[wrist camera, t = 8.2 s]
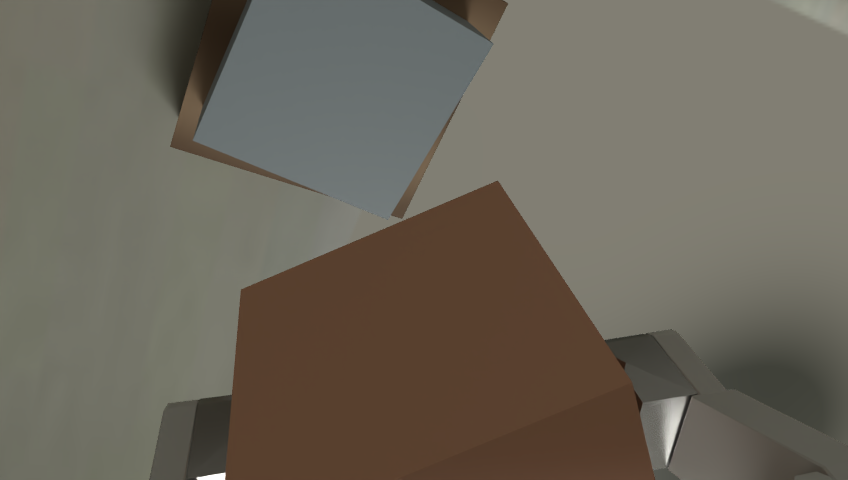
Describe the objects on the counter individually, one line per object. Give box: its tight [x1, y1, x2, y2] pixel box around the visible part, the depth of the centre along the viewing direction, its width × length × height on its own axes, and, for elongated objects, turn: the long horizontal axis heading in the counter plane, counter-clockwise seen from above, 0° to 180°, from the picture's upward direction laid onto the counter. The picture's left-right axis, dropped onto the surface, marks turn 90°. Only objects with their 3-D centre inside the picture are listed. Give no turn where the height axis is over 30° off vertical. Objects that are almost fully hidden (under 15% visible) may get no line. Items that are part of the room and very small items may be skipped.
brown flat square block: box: [170, 0, 508, 218], centre depth 30 cm, size 12×12×4 cm
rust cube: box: [225, 181, 655, 480], centre depth 10 cm, size 5×5×5 cm
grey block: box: [193, 0, 493, 220], centre depth 26 cm, size 9×9×4 cm
